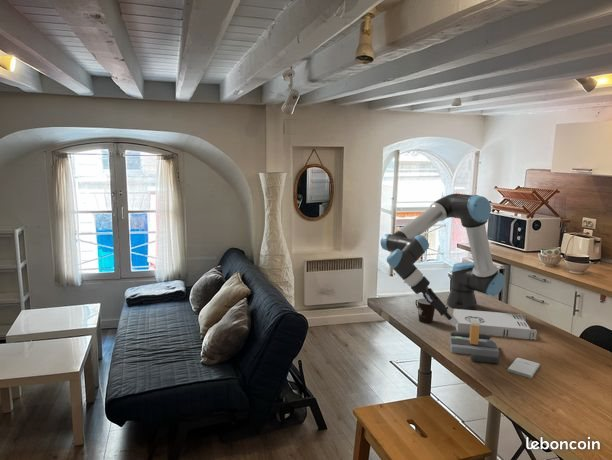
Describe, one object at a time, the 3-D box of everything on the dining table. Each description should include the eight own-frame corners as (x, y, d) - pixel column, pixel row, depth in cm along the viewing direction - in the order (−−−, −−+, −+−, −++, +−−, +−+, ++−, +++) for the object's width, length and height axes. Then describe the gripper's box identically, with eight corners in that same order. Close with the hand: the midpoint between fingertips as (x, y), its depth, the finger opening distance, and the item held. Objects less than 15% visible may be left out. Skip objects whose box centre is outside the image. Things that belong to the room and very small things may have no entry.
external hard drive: (507, 372, 165) (516, 360, 174) (531, 379, 160) (539, 367, 169) (507, 368, 165) (517, 356, 174) (531, 375, 159) (539, 363, 169)
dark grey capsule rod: (470, 361, 172) (471, 356, 171) (470, 359, 174) (470, 353, 173) (499, 365, 169) (500, 359, 169) (498, 362, 172) (498, 356, 171)
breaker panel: (451, 352, 180) (451, 346, 179) (449, 341, 190) (449, 335, 190) (498, 357, 175) (499, 351, 175) (494, 346, 186) (494, 339, 186)
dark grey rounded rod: (450, 337, 194) (450, 332, 194) (450, 335, 196) (450, 330, 196) (490, 341, 190) (490, 336, 190) (489, 339, 193) (489, 334, 192)
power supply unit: (535, 340, 193) (537, 330, 192) (457, 333, 200) (457, 322, 199) (524, 324, 211) (525, 314, 210) (452, 318, 218) (453, 308, 217)
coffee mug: (436, 324, 209) (438, 304, 207) (418, 324, 209) (419, 304, 207) (430, 315, 220) (431, 296, 218) (413, 315, 220) (414, 296, 218)
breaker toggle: (470, 344, 181) (472, 322, 179) (469, 339, 185) (470, 319, 183) (478, 344, 180) (480, 323, 178) (476, 340, 184) (478, 320, 182)
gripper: (410, 282, 191) (447, 323, 189) (409, 291, 178) (449, 335, 177) (423, 271, 188) (461, 313, 187) (424, 280, 176) (464, 324, 175)
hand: (455, 323), depth 182 cm, fingers closed
